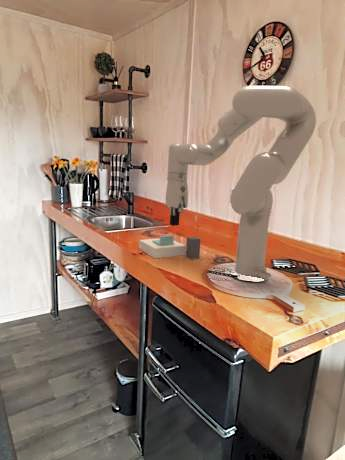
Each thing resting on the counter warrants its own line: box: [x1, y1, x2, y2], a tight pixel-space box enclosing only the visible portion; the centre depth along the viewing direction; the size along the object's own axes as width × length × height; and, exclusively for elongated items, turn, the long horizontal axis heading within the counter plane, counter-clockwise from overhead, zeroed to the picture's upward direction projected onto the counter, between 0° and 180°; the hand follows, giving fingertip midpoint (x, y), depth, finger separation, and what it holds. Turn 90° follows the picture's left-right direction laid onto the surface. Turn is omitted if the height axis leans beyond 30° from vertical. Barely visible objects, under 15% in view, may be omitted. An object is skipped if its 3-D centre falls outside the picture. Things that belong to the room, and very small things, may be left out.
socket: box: [138, 237, 186, 259], centre depth 137 cm, size 16×14×4 cm
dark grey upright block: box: [185, 236, 201, 260], centre depth 130 cm, size 4×4×8 cm
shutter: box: [152, 235, 175, 245], centre depth 136 cm, size 7×7×4 cm
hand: (174, 224), depth 126 cm, fingers closed
